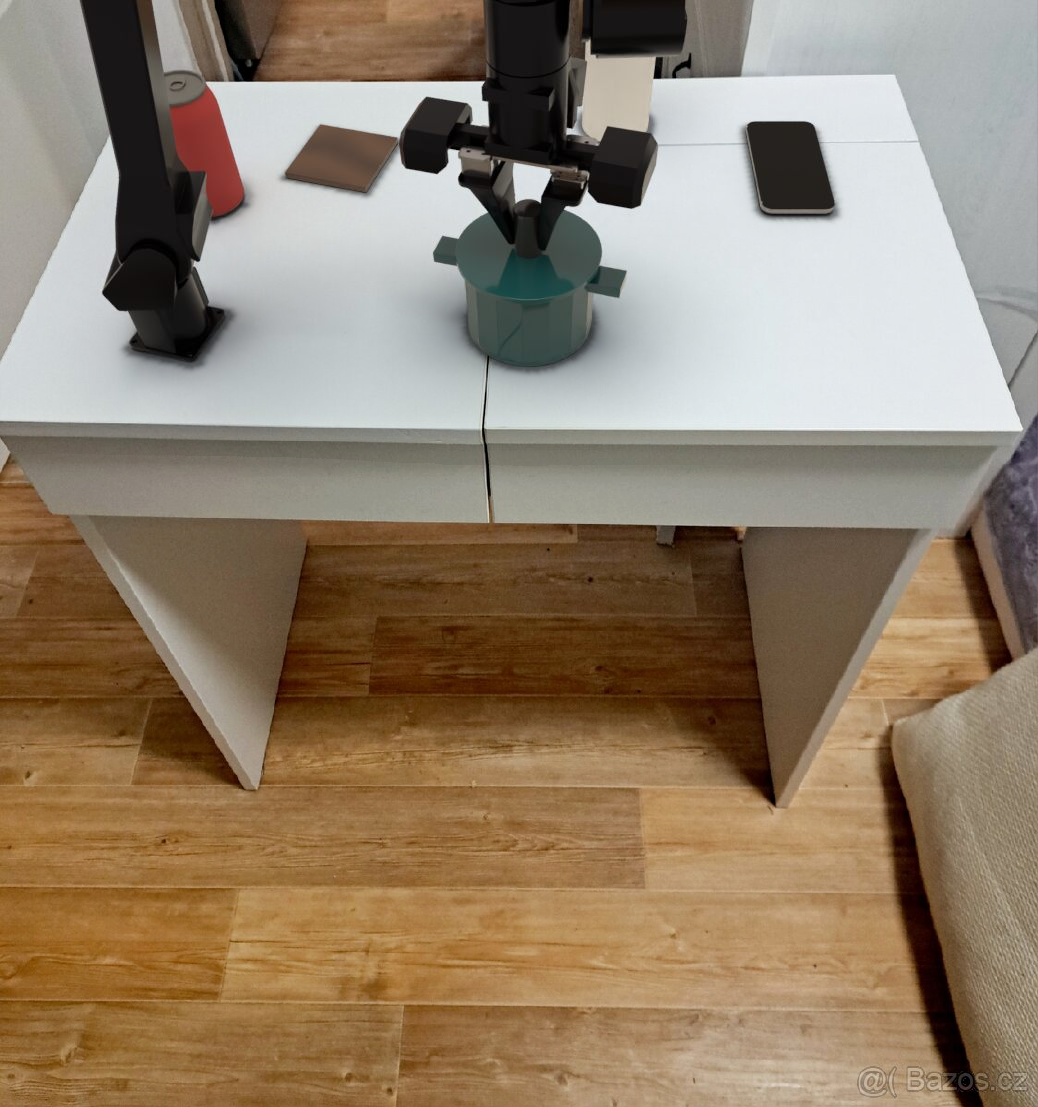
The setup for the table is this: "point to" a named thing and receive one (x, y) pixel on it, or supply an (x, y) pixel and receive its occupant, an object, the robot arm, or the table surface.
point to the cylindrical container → (616, 93)
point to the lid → (528, 257)
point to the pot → (532, 318)
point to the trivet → (342, 158)
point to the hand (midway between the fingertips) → (528, 244)
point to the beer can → (203, 138)
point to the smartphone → (789, 168)
